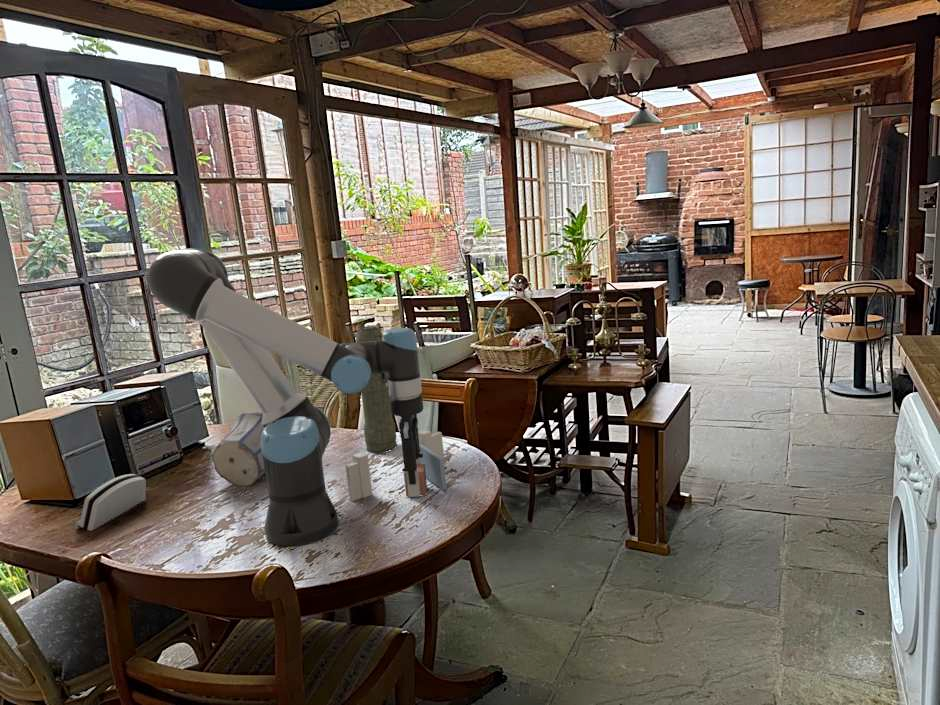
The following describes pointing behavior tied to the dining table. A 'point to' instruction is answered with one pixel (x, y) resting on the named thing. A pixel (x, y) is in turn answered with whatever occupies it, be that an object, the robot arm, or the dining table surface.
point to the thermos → (376, 404)
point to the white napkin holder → (112, 500)
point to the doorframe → (360, 467)
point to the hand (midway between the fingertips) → (415, 490)
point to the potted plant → (241, 451)
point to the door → (433, 466)
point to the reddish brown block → (421, 480)
